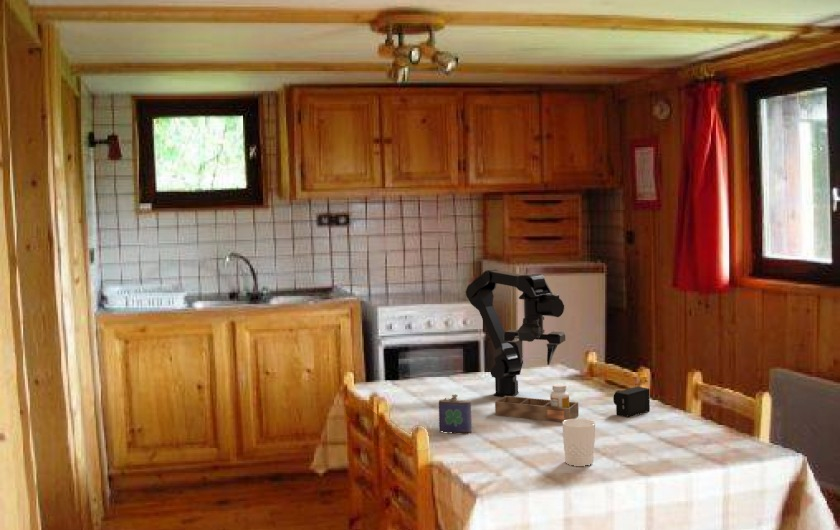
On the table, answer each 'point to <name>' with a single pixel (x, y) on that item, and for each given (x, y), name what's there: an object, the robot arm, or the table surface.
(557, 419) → the bottle rack
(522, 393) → the table surface
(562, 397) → the supplement bottle
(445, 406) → the flask
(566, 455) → the white cup
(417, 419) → the table surface
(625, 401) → the digital camera
